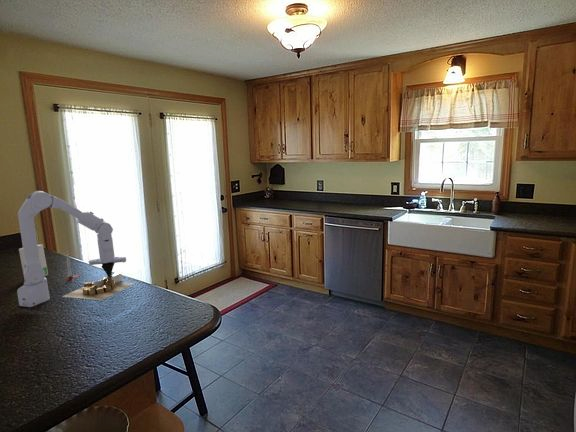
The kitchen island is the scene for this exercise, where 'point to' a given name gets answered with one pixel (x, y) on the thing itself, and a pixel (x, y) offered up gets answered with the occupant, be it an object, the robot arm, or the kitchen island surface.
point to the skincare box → (41, 256)
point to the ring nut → (108, 286)
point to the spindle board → (102, 296)
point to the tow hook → (69, 270)
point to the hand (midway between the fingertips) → (110, 279)
